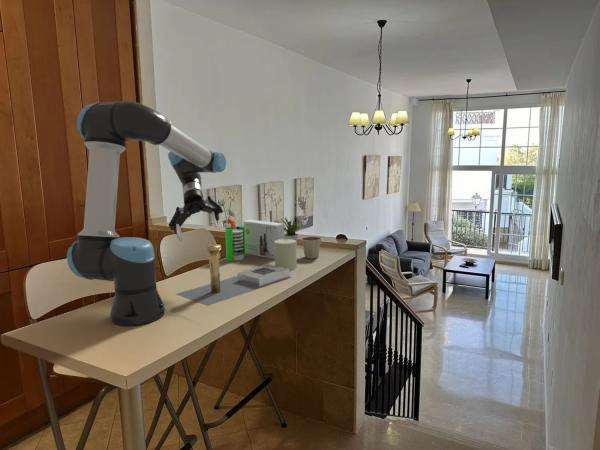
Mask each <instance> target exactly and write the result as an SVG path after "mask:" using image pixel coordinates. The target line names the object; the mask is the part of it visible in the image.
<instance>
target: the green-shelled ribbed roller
mask: <svg viewBox="0 0 600 450" xmlns="http://www.w3.org/2000/svg"><path fill="white" fill-rule="evenodd" d="M226 221H227V222H226V224H229V225H230V226H227V227H225V228H224V233H225V258H226V259H225V260H227V261H229V262H234V261H241V260H244V259H245V258H246V253H245V227H244V226H239V225H236V223H235V219H233V218H229V219H226Z"/></svg>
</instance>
